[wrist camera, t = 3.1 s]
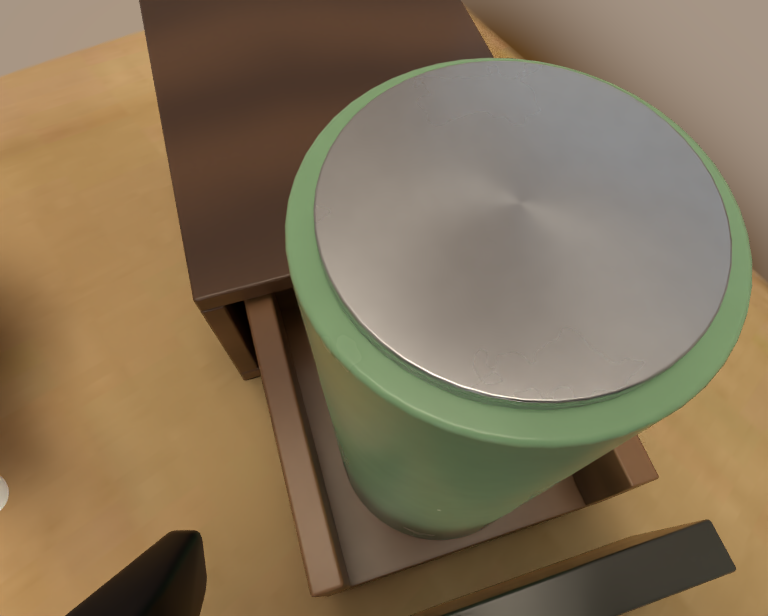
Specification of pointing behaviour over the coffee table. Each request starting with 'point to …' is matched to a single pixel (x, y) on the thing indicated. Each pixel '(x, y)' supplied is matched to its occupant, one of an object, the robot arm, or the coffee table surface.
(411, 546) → the drawer
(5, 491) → the teapot
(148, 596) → the robot arm
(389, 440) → the can
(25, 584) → the coffee table surface
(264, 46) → the cabinet
